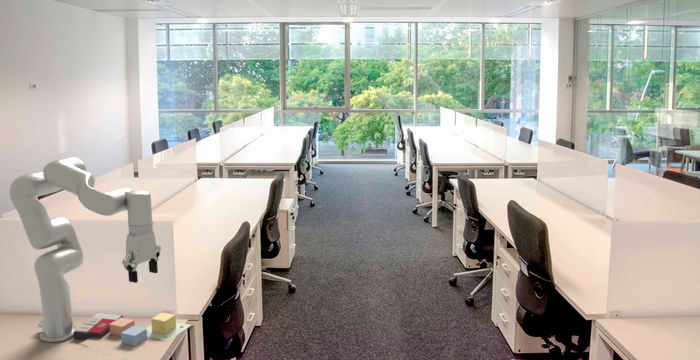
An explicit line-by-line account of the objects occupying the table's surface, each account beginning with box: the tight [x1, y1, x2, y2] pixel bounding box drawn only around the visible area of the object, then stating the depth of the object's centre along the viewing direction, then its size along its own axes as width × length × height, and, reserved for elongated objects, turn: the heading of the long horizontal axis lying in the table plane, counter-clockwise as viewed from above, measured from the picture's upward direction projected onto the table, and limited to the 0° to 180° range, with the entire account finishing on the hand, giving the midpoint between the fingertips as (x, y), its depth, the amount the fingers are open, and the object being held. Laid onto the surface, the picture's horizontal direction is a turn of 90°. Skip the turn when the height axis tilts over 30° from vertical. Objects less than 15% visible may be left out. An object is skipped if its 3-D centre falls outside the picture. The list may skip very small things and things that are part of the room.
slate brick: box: [120, 325, 148, 347], centre depth 212 cm, size 6×6×5 cm
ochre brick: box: [150, 312, 177, 334], centre depth 220 cm, size 6×6×5 cm
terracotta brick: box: [109, 317, 136, 337], centre depth 219 cm, size 6×6×5 cm
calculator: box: [73, 312, 124, 341], centre depth 221 cm, size 11×4×15 cm
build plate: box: [145, 321, 192, 342], centre depth 220 cm, size 14×14×1 cm
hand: (143, 277), depth 202 cm, fingers open, 9 cm apart
